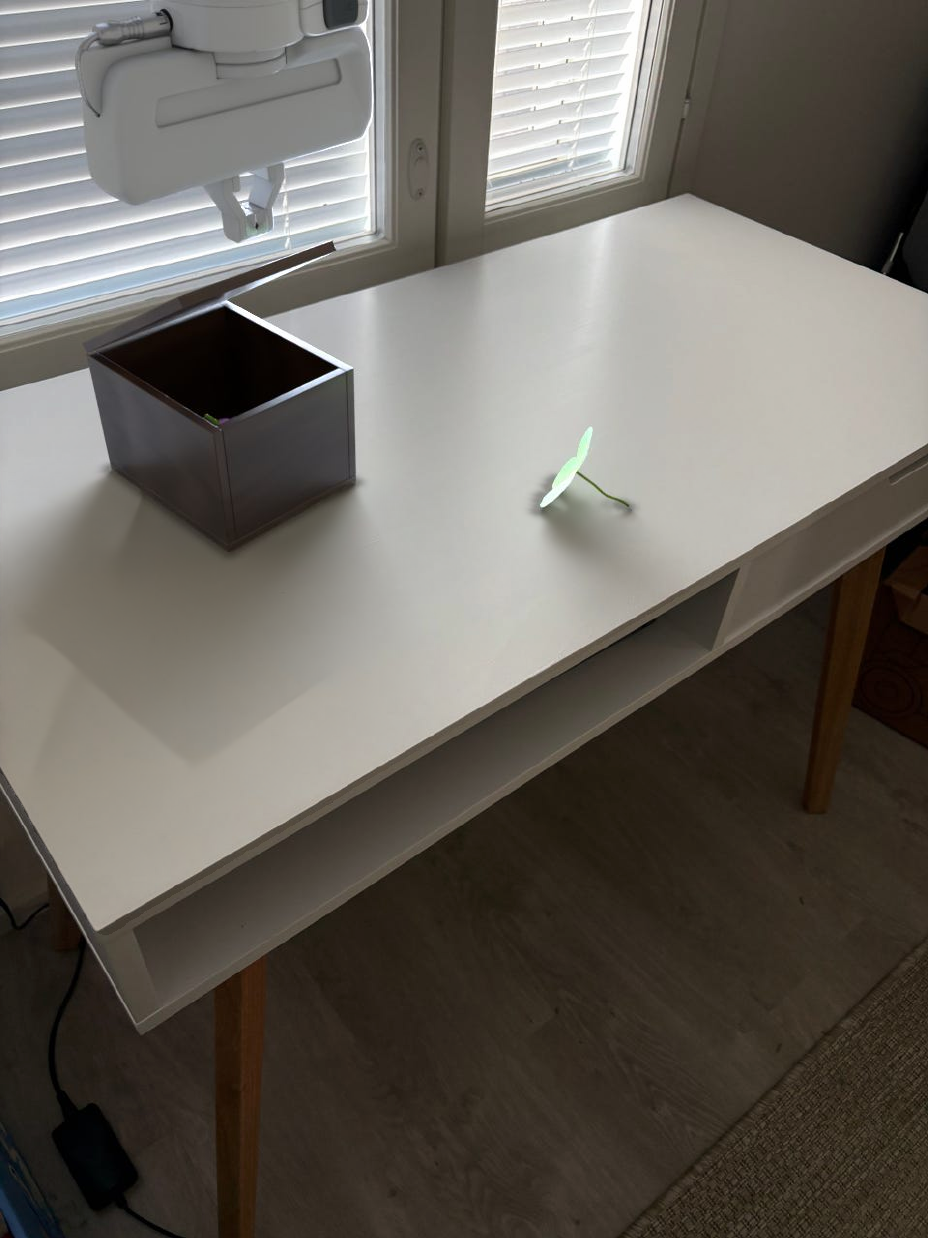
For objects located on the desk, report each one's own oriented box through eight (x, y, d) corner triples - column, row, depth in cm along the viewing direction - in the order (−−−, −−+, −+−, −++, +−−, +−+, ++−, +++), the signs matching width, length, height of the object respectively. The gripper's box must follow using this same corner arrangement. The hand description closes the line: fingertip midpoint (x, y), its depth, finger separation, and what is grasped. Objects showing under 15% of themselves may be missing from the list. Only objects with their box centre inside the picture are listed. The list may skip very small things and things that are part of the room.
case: (356, 481, 86) (353, 367, 79) (229, 553, 78) (213, 434, 71) (238, 410, 93) (226, 299, 86) (111, 469, 85) (85, 353, 78)
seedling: (584, 548, 89) (526, 506, 87) (633, 474, 89) (576, 430, 88) (615, 551, 82) (552, 504, 80) (668, 469, 82) (607, 421, 81)
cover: (337, 250, 73) (332, 239, 73) (183, 308, 65) (177, 296, 65) (227, 299, 86) (223, 290, 85) (86, 353, 78) (81, 343, 78)
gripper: (104, 40, 51) (148, 297, 61) (388, -12, 63) (388, 210, 72) (35, 14, 54) (87, 263, 64) (319, -31, 66) (327, 185, 75)
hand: (249, 235), depth 68 cm, fingers closed
